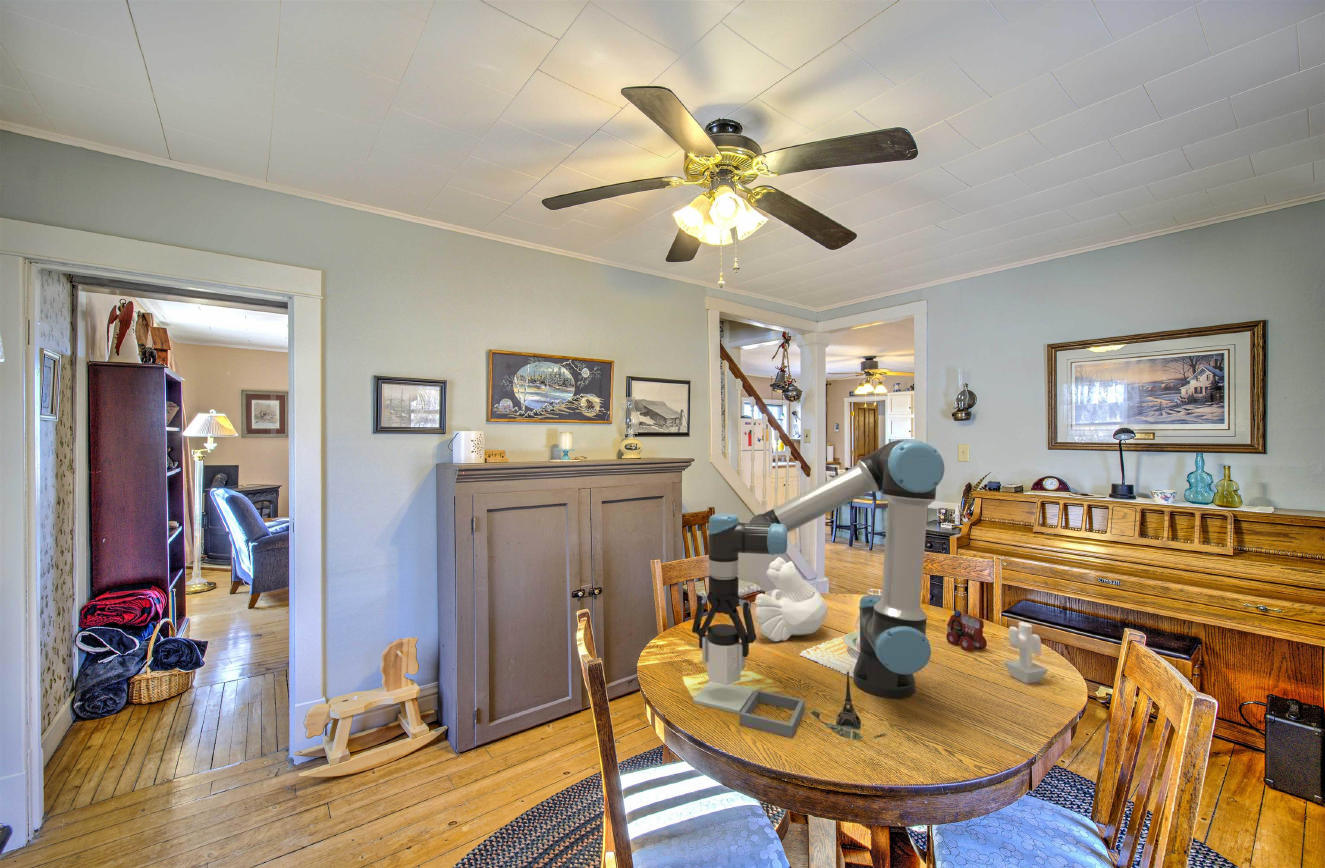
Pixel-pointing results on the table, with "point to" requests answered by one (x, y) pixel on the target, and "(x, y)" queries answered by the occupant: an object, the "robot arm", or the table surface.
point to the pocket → (770, 724)
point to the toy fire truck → (966, 631)
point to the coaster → (724, 696)
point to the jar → (723, 654)
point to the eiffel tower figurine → (846, 719)
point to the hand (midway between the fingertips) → (723, 665)
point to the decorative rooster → (789, 604)
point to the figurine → (1025, 654)
